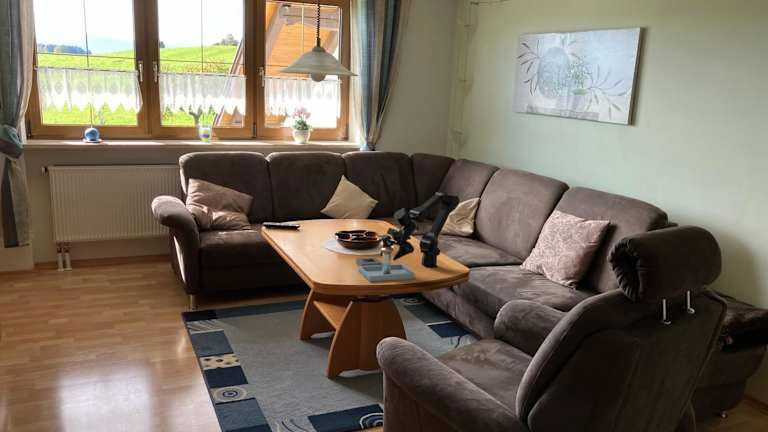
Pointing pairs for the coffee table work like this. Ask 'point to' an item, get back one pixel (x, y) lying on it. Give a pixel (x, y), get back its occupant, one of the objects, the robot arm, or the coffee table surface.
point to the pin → (386, 260)
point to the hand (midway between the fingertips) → (387, 257)
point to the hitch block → (368, 261)
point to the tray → (396, 274)
